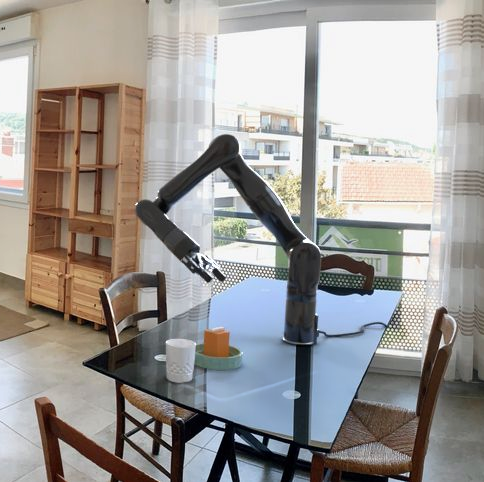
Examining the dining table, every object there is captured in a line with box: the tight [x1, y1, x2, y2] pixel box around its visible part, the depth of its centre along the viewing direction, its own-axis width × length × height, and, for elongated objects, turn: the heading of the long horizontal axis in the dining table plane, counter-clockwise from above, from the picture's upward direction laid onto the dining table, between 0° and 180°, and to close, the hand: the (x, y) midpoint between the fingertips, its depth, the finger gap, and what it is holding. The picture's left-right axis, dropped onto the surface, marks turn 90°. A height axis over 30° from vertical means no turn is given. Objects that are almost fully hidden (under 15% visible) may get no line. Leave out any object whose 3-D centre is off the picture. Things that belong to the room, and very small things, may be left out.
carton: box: [203, 326, 230, 357], centre depth 178 cm, size 5×5×10 cm
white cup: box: [165, 338, 197, 384], centre depth 165 cm, size 8×8×10 cm
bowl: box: [194, 342, 243, 371], centre depth 178 cm, size 14×14×4 cm
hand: (217, 280), depth 185 cm, fingers open, 8 cm apart
